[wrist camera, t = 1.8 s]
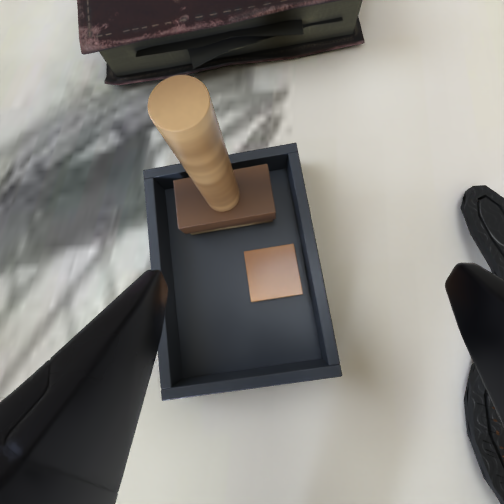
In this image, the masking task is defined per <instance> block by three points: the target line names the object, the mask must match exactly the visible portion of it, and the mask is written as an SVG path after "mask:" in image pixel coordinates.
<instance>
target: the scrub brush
mask: <svg viewBox="0 0 504 504" xmlns="http://www.w3.org/2000/svg"><path fill="white" fill-rule="evenodd" d="M148 113H149V116H150V118H151V120H152V121H153V123H154V124H155V126H156V127H157V129H158V130H159V132H160V133H161V135H162V136H163V138H164V139H165V141H166V142H167V144H168V145H169V147H170V148H171V150H172V151H173V153H174V154H175V156H176V157H177V159H178V160H179V161H180V163H181V164H182V166H183V167H184V169H185V170H186V172H187V173H188V175H189V176H190V177H189V178H184V179H178V180H173V183H174V193H175V203H176V213H177V223H178V229H179V230H181V231H182V232H183V233H185V234H191V235H195V234H201V233H207V232H213V231H219V230H225V229H231V228H237V227H243V226H249V225H255V224H261V223H267V222H272V221H273V220H274V219H276V209H275V203H274V198H273V192H272V186H271V180H270V175H269V169H268V164H263V165H257V166H251V167H246V168H240V169H234V170H233V168H232V165H231V162H230V159H229V156H228V152H227V149H226V146H225V143H224V139H223V136H222V133H221V130H220V127H219V123H218V120H217V117H216V114H215V110H214V107H213V104H212V101H211V98H210V94H209V92H208V89H207V88H206V86H205V85H204V84H203V83H202V82H201V81H200V80H198V79H197V78H195V77H192V76H188V75H175V76H171V77H169V78H167V79H165V80H163V81H161V82H160V83H159V84H158V85H157V86H156V87H155V88H154V89H153V91H152V92H151V94H150V97H149V100H148Z"/></svg>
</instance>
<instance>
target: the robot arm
mask: <svg viewBox="0 0 504 504" xmlns="http://www.w3.org/2000/svg"><path fill="white" fill-rule="evenodd" d="M445 288H446V291H447V295H448V298H449V301H450V304H451V307H452V310H453V313H454V316H455V319H456V322H457V325H458V328H459V330H460V333H461V336H462V338H463V340H464V342H465V345H466V347H467V349H468V351H469V353H470V355H471V358H472V360H473V362H474V364H475V366H476V368H477V371H478V373H479V375H480V377H481V379H482V381H483V383H484V386H485V388H486V390H487V392H488V394H489V396H490V399H491V401H492V403H493V405H494V407H495V409H496V412H497V414H498V416H499V418H500V420H501V422H502V424H503V427H504V280H503V279H501V278H499V277H498V276H496V275H494V274H493V273H491V272H489V271H488V270H486V269H484V268H482V267H481V266H479V265H477V264H475V263H458V264H457V265H456V266H455V267H454V269H453V270H452V272H451V274H450V275H449V277H448V278H447V280H446V283H445ZM167 298H168V286H167V283H166V281H165V279H164V276H163V274H162V272H161V271H160V270H147V271H146V272H144V273H143V274H142V275H141V276H140V277H139V278H138V279H137V280H136V281H135V282H133V283H132V284H131V285H130V286H129V287H128V288H127V289H126V290H125V291H124V292H122V293H121V294H120V295H119V296H118V297H117V298H116V299H115V300H114V301H113V302H112V303H110V304H109V305H108V306H107V307H106V308H105V309H104V310H103V311H102V312H101V313H99V314H98V315H97V316H96V317H95V318H94V319H93V320H92V321H91V322H90V323H89V324H87V325H86V326H85V327H84V328H83V329H82V330H81V331H80V332H79V333H78V334H77V335H75V336H74V337H73V338H72V339H71V340H70V341H69V342H68V343H67V344H66V345H64V346H63V347H62V348H61V349H60V350H59V351H58V352H57V353H56V354H55V355H54V356H52V357H51V359H50V360H48V361H47V362H46V363H45V364H44V365H42V366H41V367H40V368H39V369H38V370H37V371H36V372H35V373H34V374H33V375H31V376H30V377H29V378H28V379H27V380H26V381H25V382H23V383H22V384H21V385H20V386H19V387H18V388H17V389H16V390H14V391H13V392H12V393H11V394H10V395H8V396H7V397H6V398H5V399H4V400H2V401H1V402H0V504H115V503H116V499H117V495H118V493H117V492H118V491H119V487H120V484H121V480H122V477H123V473H124V469H125V466H126V462H127V459H128V455H129V451H130V448H131V444H132V441H133V437H134V433H135V430H136V426H137V423H138V419H139V415H140V412H141V408H142V405H143V401H144V397H145V394H146V390H147V387H148V383H149V379H150V376H151V372H152V369H153V365H154V361H155V358H156V354H157V351H158V347H159V343H160V339H161V335H162V330H163V323H164V317H165V311H166V304H167Z"/></svg>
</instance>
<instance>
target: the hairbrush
mask: <svg viewBox="0 0 504 504" xmlns="http://www.w3.org/2000/svg"><path fill="white" fill-rule="evenodd" d="M477 199H479V201H477ZM461 210H462V213H463V215H464V218H465V221H466V223H467V226H468V229H469V231H470V234H471V236H472V237H473V239H474V241H475V242H476V244H477V246H478V248H479V249H480V251H481V253H482V254H483V256H484V258H485V259H486V261H487V263H488V265H489V266H490V268H491V271H492V273H493V274H494V275H496V276H498V277H499V278H501V279H503V280H504V198H503V197H502V196H500V195H499V194H497V193H496V192H494V191H493V190H491V189H490V188H489V187H487V186H486V185H483V186H472V187H471V188H469V189H468V190H467V191H466V192H465V194H464V197H463V200H462V205H461ZM464 404H465V414H466V424H467V434H468V437H469V439H470V442H471V445H472V447H473V450H474V453H475V455H476V458H477V461H478V463H479V466H480V469H481V471H482V474H483V477H484V479H485V480H486V482H487V483H488V485H489V486H490V488H491V489H492V490H493V492H494V493H495V495H496V496H497V498H498V500H499V501H500V503H501V504H504V427H503V424H502V422H501V420H500V418H499V416H498V414H497V412H496V409H495V407H494V405H493V403H492V401H491V399H490V396H489V394H488V392H487V390H486V388H485V386H484V383H483V381H482V379H481V377H480V375H479V373H478V371H477V368H476V366H475V364H474V363H473V364H472V366H471V370H470V374H469V379H468V384H467V388H466V393H465V397H464Z"/></svg>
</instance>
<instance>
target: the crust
mask: <svg viewBox="0 0 504 504" xmlns="http://www.w3.org/2000/svg"><path fill="white" fill-rule="evenodd" d="M244 258H245V264H246V271H247V278H248V285H249V292H250V298H251V302H258V301H264V300H271V299H277V298H284V297H290V296H297V295H302V294H303V291H302V285H301V280H300V274H299V269H298V263H297V258H296V252H295V247H294V244H287V245H281V246H274V247H268V248H262V249H256V250H250V251H244Z"/></svg>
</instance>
